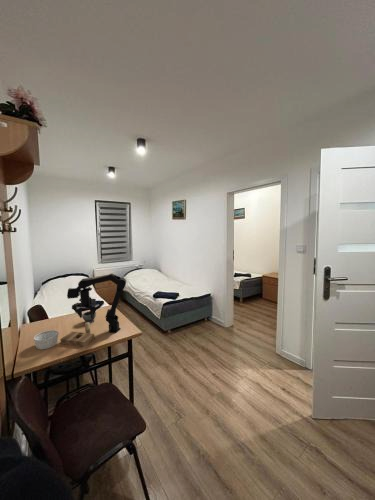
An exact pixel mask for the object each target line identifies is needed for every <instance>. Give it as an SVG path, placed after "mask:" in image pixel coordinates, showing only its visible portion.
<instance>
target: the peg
mask: <svg viewBox="0 0 375 500" xmlns="http://www.w3.org/2000/svg"><path fill="white" fill-rule="evenodd" d="M90 324H91V323H89V322H87V323H85V322H84V328H85V329H84V331H85V332H84V333H90V334H91V328H90V327H91V326H90Z"/></svg>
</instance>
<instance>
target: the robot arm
mask: <svg viewBox="0 0 375 500" xmlns="http://www.w3.org/2000/svg"><path fill="white" fill-rule="evenodd" d="M107 281H108V282H109V281H111V282H112V283H114V284H115V285H116V292H115V294H114V299H113V301H112V304H111V307H110V309H109V308H108V309H107V311H106V314H105V321H106V322H107V323H108V331H107V332H108V333H114V334H115V333H118V332H119V331H121V327H120V322H119V316H118V315H117V307H118V304H119V302H120V298H121V294H122V292H123V290H124V289H125V287H126V285H127V279H126V278H124V277H121V276H118V275H116V274H114V273H109V274H105V275H101V276H100V275H99V276H97V277H92V278H91V277H87V278H85V277H84V278H81V280H79V282H78V284H77V285H78V286H77V287H74V288H71V287H70V288H68V289H67V294H66V298H67V299H69V300H71V299H77V298H79V299H78V301H79V302H75V303H74V304H72V305H71V310H73V311H74V312H75V313H76V314H77V315H78V317H79V318H80V319H83V317H82V315H83V309H89V311H88V312H90V315H91V318H92V319H93V317H94V314H95V312H97V310H99V309H100V308H101V307H100V304H99V303H96V300H97V299H96V298H92V296H90V292H91V291H92V289H93V288H92V287H91V286H92V285H96V284H100V283H104V282H107Z"/></svg>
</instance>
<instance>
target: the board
mask: <svg viewBox="0 0 375 500" xmlns="http://www.w3.org/2000/svg"><path fill="white" fill-rule="evenodd" d="M59 340H60V344H62V345H63V344H64V345H71V346H78V347H84V348H85V347H86V346H87V345H89V343H91V342H92V341H93V340H95V333H91V332H90V333H86V332H81V331H80V332H79V331H70V332H69V333H67V334H65V336H63V337H62V338H60V339H59Z"/></svg>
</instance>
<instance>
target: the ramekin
mask: <svg viewBox="0 0 375 500" xmlns="http://www.w3.org/2000/svg"><path fill="white" fill-rule="evenodd" d="M58 340H59V331H58V330H56V329H49V330H45V331H44V330H43V331H42V332H39V333H37V334H35V335H34V337H33V342H34V345H35V348H36V349H38V350H47V349H48V350H49V349H50V348H52V347H54V346H56V345H57V344H58Z"/></svg>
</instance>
